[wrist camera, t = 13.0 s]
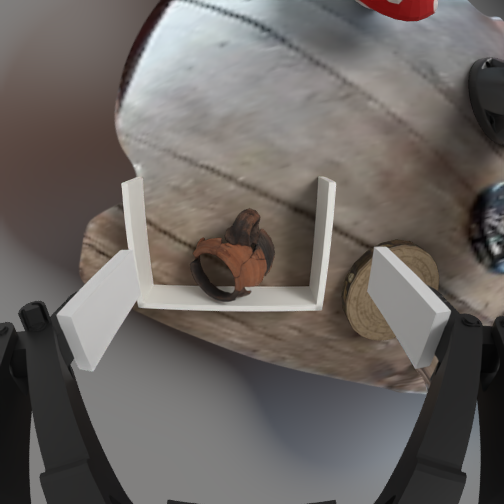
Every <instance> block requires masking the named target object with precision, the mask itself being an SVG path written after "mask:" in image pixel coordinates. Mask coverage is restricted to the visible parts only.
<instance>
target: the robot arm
mask: <svg viewBox="0 0 504 504" xmlns="http://www.w3.org/2000/svg"><path fill="white" fill-rule="evenodd" d="M469 93H470V99H471V103H472V107H473V110H474V113H475V116H476V118H477V120H478V122H479V124H480V126H481V128H482V129H483V131H484V132H485V134H486V135H487V136H488V137H489V138H490V139H491V140H493V141H494V142H496V143H498V144H502V145H504V60H502V59H498V58H493V57H489V58H484V59H480V60H478V61H476V62H475V63H474V65H473V66H472V68H471V71H470V76H469ZM367 292H368V293H369V295H370V297H371V298H372V300H373V301H374V303H375V304H376V306H377V307H378V309H379V310H380V312H381V313H382V315H383V317H384V318H385V320H386V321H387V323H388V325H389V326H390V328H391V329H392V331H393V333H394V334H395V336H396V337H397V339H398V341H399V342H400V344H401V346H402V347H403V349H404V351H405V352H406V354H407V356H408V357H409V359H410V361H411V363H412V364H413V366H414V368H415V369H418V368H423V367H427V366H430V364H431V362H432V360H433V357H434V355H435V356H436V357H437V359H438V360H439V361H438V363H437V365H436V368H435V370H434V372H433V374H432V376H431V378H430V380H431V384H430V387H429V390H428V393H427V396H426V398H425V401H424V404H423V407H422V410H421V412H420V414H419V417H418V420H417V422H416V424H415V427H414V429H413V432H412V434H411V437H410V438H409V441H408V443H407V445H406V447H405V449H404V452H403V454H402V456H401V458H400V460H399V462H398V464H397V466H396V468H395V469H394V471H393V473H392V475H391V477H390V479H389V481H388V483H387V484H386V486H385V488H384V489H383V491H382V493H381V494H380V496H379V497H378V499H377V500H376V501H375V503H374V504H458V503H459V500H460V498H461V495H462V492H463V489H464V486H465V482H466V473H464V472H462V471H461V468H462V464H463V461H464V457H465V453H466V450H467V446H468V442H469V438H470V433H471V429H472V424H473V419H474V414H475V408H476V402H478V411H479V425H480V444H481V471H480V491H479V503H478V504H504V316H499V317H497V318H496V319H495V321H494V324H493V326H483V325H482V323H481V321H480V320H479V319H478V318H476V317H475V316H472V315H470V314H459V312H458V311H457V310H456V309H455V308H454V307H453V306H452V305H451V304H450V303H449V302H447V300H446V299H445V298H444V297H442V295H441V294H440V293H439V292H438V291H437V290H436V289H434V288H432V287H431V286H429V285H426V284H425V283H424V282H423V281H422V280H421V279H420V278H419V277H418V276H417V275H416V274H415V273H414V272H413V271H412V270H411V269H410V268H408V267H407V266H406V265H405V264H404V263H403V262H402V261H401V260H400V259H399V258H398V257H397V256H396V255H395V254H394V253H393V252H392V251H390V250H389V249H388V248H387V247H374V252H373V259H372V265H371V272H370V278H369V284H368V289H367ZM140 295H141V292H140V287H139V282H138V277H137V272H136V267H135V261H134V255H133V250H120V251H119V252H118V253H117V254H116V255H115V256H114V257H113V258H112V259H111V260H109V261H108V262H107V263H106V264H105V265H104V266H103V267H102V268H101V269H100V270H99V271H98V272H97V273H96V274H95V275H94V276H93V277H92V278H91V279H90V280H89V281H88V282H87V283H86V284H85V285H84V286H83V287H82V288H81V289H80V290H78V291H77V292H75V293H74V294H72V295H71V296H70V297H69V298H68V299H67V300H66V302H64V303H63V304H62V305H61V306H60V307H59V308H58V309H57V310H56V312H54V313H53V315H52V316H51V317H50V316H49V313H48V311H47V308H46V305H45V303H44V302H42V301H34V302H31V303H28V304H26V305H25V306H23V307H22V308H21V309H20V310H19V313H18V314H19V317H20V319H21V322H22V324H23V327H24V329H25V331H22V332H16V330H15V328H14V325H13V324H12V323H10V322H5V323H0V504H31V498H30V479H29V445H30V426H31V414H32V412H33V417H34V423H35V429H36V433H37V438H38V442H39V446H40V451H41V455H42V458H43V461H44V465H45V470H46V471H45V472H44V473H41V474H40V482H41V486H42V489H43V492H44V495H45V498H46V501H47V504H133V503H132V502H131V500H130V499H129V498H128V496H127V495H126V493H125V491H124V490H123V488H122V486H121V484H120V482H119V481H118V479H117V477H116V475H115V473H114V471H113V469H112V467H111V465H110V463H109V461H108V459H107V457H106V455H105V453H104V451H103V449H102V446H101V444H100V442H99V440H98V438H97V435H96V433H95V430H94V428H93V426H92V424H91V421H90V418H89V416H88V413H87V410H86V408H85V405H84V402H83V399H82V397H81V394H80V391H79V388H78V385H77V381H76V379H75V375H74V372H73V369H72V367H71V365H70V364H71V362H72V361H73V359H75V362H76V364H77V366H78V368H79V369H82V370H87V371H92V372H93V371H94V369H95V368H96V366H97V364H98V363H99V361H100V359H101V357H102V356H103V354H104V352H105V350H106V349H107V347H108V345H109V344H110V342H111V341H112V339H113V337H114V336H115V334H116V332H117V330H118V329H119V328H120V326H121V324H122V323H123V321H124V319H125V318H126V316H127V315H128V313H129V312H130V310H131V308H132V307H133V305H134V304H135V302H136V301H137V299H138V298H139V296H140ZM167 504H196V503H187V502H180V501H173V500H168V501H167ZM309 504H336V500H332V501H325V502H318V503H309Z"/></svg>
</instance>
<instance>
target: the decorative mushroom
mask: <svg viewBox="0 0 504 504" xmlns="http://www.w3.org/2000/svg"><path fill="white" fill-rule="evenodd" d="M355 1H356V2H358V3H359V4H360V5H362V6H364V7H366V8H369V9H373V10H375V11H377V12H379V13H381V14H383V15H385V16H388V17H391V18H393V19H397V20H402V21H419V20H422V19H425V18H427V17H429V16H430V15H432V14H434V13H435V11H436V9H437V6H438V0H355Z"/></svg>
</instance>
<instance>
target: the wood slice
mask: <svg viewBox="0 0 504 504" xmlns="http://www.w3.org/2000/svg"><path fill="white" fill-rule="evenodd" d="M375 247H387V248H388V249H389V250H390V251H392V252H393V253H394V254H395V255H396V256H397V257H398V258H399V259H400V260H401V261H402V262H403V263H404V264H405V265H406V266H407V267H408V268H410V269H411V270H412V271H413V272H414V273H415V274H416V275H417V276H418V277H419V278H420V279H421V280H422V281H423V282H424V283H425V284H426V285H429V286H431V287H432V288H434V289H436V290H437V291H438V286H439V274H438V269H437V265H436V263H435V262H434V260H433V259H432V257H431V256H430V254H428V253H427V252H426V251H424V250H423V249H422V248H420V247H419V246H417V245H415V244H414V243H412V242H410V241H404V240H392V241H388V242H383V243H380V244H379V245H377V246H375ZM373 252H374V247H373V248H372V249H370V250H368V251H367V252H366V253H365V254H364V255H363V256H362V257H361V258H360V259H359V260H358V261H356V262H355V263H354V265H353V267H352V269H351V270H350V272H349V274H348V275H347V277H346V279H345V283H344V287H343V291H342V306H343V309H344V311H345V314H346V316H347V318H348V320H349V322H350V324H351V326H352V328H353V329H354V330H355V331H356V332H357V333H358V334H360V335H361V336H362V337H365V338H368V339H371V340H388V339H392V338H395V337H396V336H395V334H394V333H393V331H392V329H391V328H390V326H389V325H388V323H387V321H386V320H385V318H384V317H383V315H382V313H381V312H380V310H379V309H378V307H377V306H376V304H375V303H374V301H373V300H372V298H371V297H370V295H369V293H368V292H367V289H368V284H369V278H370V272H371V265H372V259H373Z"/></svg>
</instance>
